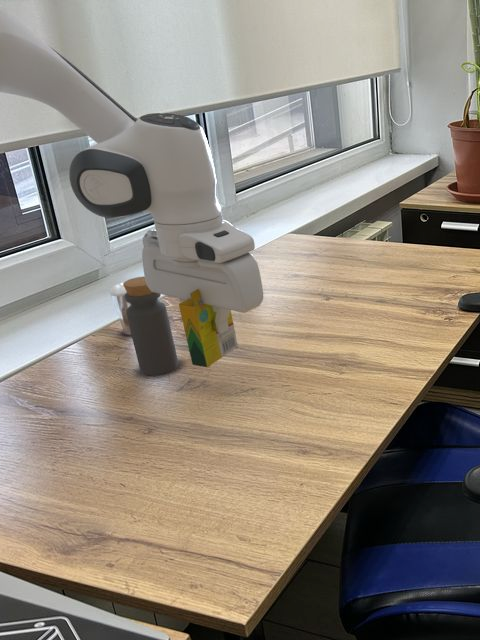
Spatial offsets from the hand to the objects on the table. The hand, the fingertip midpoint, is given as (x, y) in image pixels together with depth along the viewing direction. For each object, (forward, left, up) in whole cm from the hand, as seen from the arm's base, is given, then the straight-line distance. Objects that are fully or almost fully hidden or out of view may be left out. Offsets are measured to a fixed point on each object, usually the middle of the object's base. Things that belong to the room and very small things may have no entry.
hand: (210, 328), depth 104 cm
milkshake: (-31, +9, -11) cm, 34 cm away
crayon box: (0, 0, -5) cm, 5 cm away
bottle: (-15, +1, -11) cm, 18 cm away
